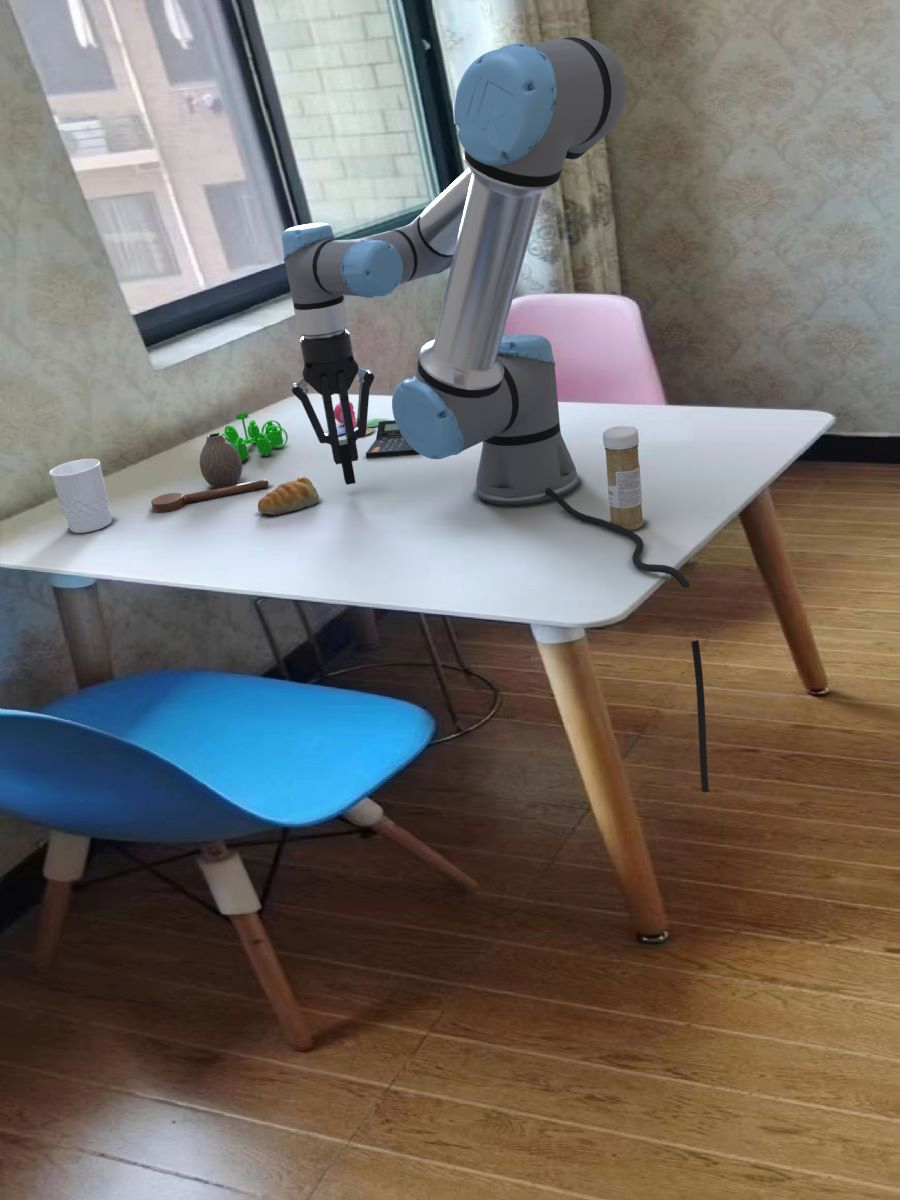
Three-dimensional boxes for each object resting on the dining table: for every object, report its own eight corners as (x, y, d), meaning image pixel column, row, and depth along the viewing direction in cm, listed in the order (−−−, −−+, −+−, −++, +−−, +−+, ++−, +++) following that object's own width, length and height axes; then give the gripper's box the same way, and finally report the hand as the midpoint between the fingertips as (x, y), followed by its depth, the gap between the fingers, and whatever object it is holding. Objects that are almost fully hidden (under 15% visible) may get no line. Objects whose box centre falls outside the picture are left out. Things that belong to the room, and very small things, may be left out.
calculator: (366, 458, 199) (363, 441, 197) (382, 436, 209) (379, 420, 208) (419, 454, 197) (416, 437, 195) (432, 432, 207) (429, 416, 205)
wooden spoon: (268, 482, 194) (266, 474, 193) (270, 491, 189) (268, 483, 189) (153, 504, 191) (151, 496, 191) (152, 514, 187) (150, 506, 186)
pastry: (271, 521, 176) (266, 497, 174) (251, 512, 181) (246, 489, 179) (323, 502, 181) (319, 479, 179) (302, 494, 186) (297, 471, 184)
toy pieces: (312, 433, 217) (307, 411, 215) (355, 416, 224) (352, 394, 222) (353, 441, 209) (349, 417, 207) (398, 422, 216) (394, 400, 214)
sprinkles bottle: (608, 521, 157) (600, 427, 152) (642, 517, 157) (635, 422, 151) (612, 534, 153) (604, 437, 148) (646, 530, 153) (639, 433, 147)
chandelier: (194, 457, 213) (185, 421, 210) (261, 434, 221) (254, 399, 218) (236, 470, 202) (228, 432, 199) (306, 445, 211) (298, 408, 208)
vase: (226, 493, 192) (214, 442, 188) (196, 489, 195) (184, 440, 192) (253, 478, 197) (243, 429, 193) (224, 475, 200) (213, 427, 197)
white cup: (125, 516, 188) (109, 458, 184) (96, 535, 181) (79, 475, 177) (86, 516, 191) (69, 458, 186) (56, 534, 184) (38, 475, 180)
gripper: (363, 320, 176) (386, 466, 186) (279, 335, 174) (307, 481, 184) (370, 330, 169) (394, 481, 179) (282, 345, 167) (311, 496, 178)
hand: (349, 481), depth 182 cm, fingers closed
